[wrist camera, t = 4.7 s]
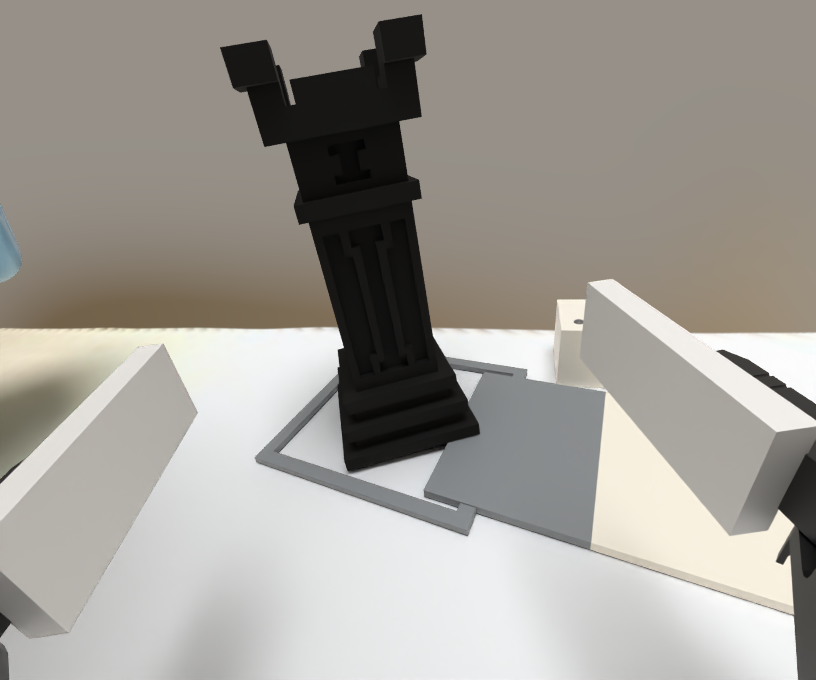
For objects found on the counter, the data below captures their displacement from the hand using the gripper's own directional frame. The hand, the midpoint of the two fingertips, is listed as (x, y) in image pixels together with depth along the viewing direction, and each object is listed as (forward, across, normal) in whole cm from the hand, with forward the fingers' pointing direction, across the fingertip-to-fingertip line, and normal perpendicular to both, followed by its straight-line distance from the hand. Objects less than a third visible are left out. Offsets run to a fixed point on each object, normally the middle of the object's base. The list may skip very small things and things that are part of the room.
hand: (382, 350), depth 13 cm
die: (+12, +14, -11) cm, 21 cm away
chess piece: (+10, 0, -11) cm, 15 cm away
